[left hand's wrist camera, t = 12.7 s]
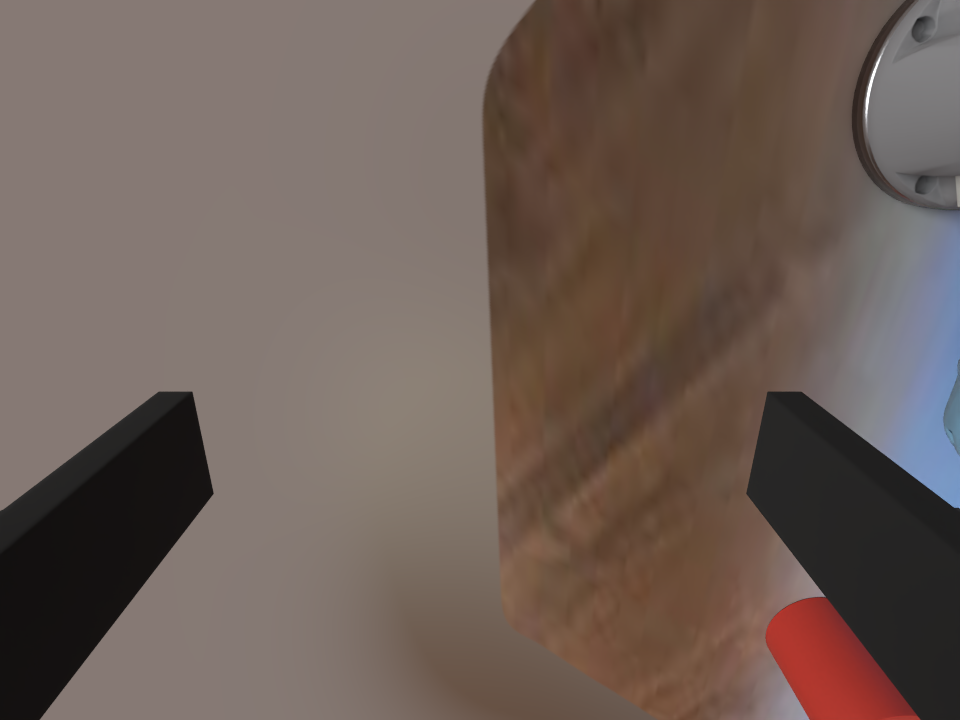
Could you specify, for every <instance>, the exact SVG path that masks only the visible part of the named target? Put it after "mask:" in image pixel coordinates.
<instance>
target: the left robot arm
mask: <svg viewBox="0 0 960 720" xmlns="http://www.w3.org/2000/svg"><path fill="white" fill-rule="evenodd" d="M852 130H853V138H854V143H855V148H856V151H857V154H858V157H859V159H860V161H861V163H862V166H863V168H864V169H865V171H866V172H867V174H868V176H869V177H870V178H871V179H872V180H873V182H874V183H875V184H876V185H877V186H878V187H879V188H880V189H881V190H883V191H884V192H886V193H887V194H888V195H890V196H892V197H893V198H895V199H897V200H899V201H902V202H904V203H907V204H911V205H914V206H920V207H926V208H934V209H941V210H960V0H906V1H905V2H904V3H903V4H902V5H901V6H900V7H899V8H898V9H897V11H896V12H895V13H894V14H893V15H892V16H891V18H890V19H889V20H888V22H887V23H886V24H885V26H884V27H883V28H882V30H881V32H880V33H879V35H878V36H877V38H876V39H875V41H874V43H873V45H872V47H871V49H870V51H869V52H868V55H867V57H866V59H865V61H864V64H863V66H862V69H861V72H860V75H859V78H858V81H857V85H856V89H855V94H854V100H853V109H852ZM943 422H944V429H945V432H946V434H947V436H948V438H949V440H950V442H951V443H952V444H953V446H954V447H955V449H956V451H957V453H958V454H959V455H960V359H959V361H958V376H957V379H956V382H955V385H954V387H953V390H952V392H951V395H950V398H949V400H948V403H947V405H946V408H945V411H944V418H943ZM746 494H747V495H748V496H749V498H750V499H751V500H752V502H753V503H754V504H755V506H756V507H757V508H758V509H759V511H760V512H761V513H762V515H763V516H764V517H765V519H766V520H767V521H768V522H769V524H770V525H771V526H772V528H773V529H774V530H775V532H776V533H777V534H778V535H779V537H780V538H781V539H782V541H783V542H784V543H785V544H786V546H787V547H788V548H789V550H790V551H791V552H792V554H793V555H794V556H795V557H796V559H797V560H798V561H799V563H800V564H801V565H802V567H803V568H804V569H805V570H806V572H807V573H808V574H809V576H810V577H811V578H812V580H813V581H814V582H815V583H816V585H817V586H818V587H819V589H820V590H821V591H822V593H823V594H824V595H825V596H826V598H827V599H828V600H829V602H830V603H831V604H832V606H833V607H834V608H835V609H836V611H837V612H838V613H839V615H840V616H841V617H842V619H843V620H844V621H845V622H846V624H847V625H848V626H849V628H850V629H851V630H852V631H853V633H854V634H855V635H856V637H857V638H858V639H859V641H860V642H861V643H862V644H863V646H864V647H865V648H866V650H867V651H868V652H869V654H870V655H871V656H872V657H873V659H874V660H875V661H876V663H877V664H878V665H879V667H880V668H881V669H882V670H883V672H884V673H885V674H886V676H887V677H888V678H889V680H890V681H891V682H892V683H893V685H894V686H895V687H896V689H897V690H898V691H899V693H900V694H901V695H902V696H903V698H904V699H905V700H906V702H907V703H908V704H909V705H910V707H911V708H912V709H913V711H914V712H915V713H916V715H917V716H918V717H919V718H920V720H960V509H959V508H954V507H952V506H951V505H950V504H948V503H947V502H946V501H945V500H943V499H942V498H941V497H939V496H938V495H937V494H935V493H934V492H933V491H931V490H930V489H929V488H927V487H926V486H925V485H923V484H922V483H921V482H919V481H918V480H917V479H916V478H914V477H913V476H912V475H910V474H909V473H908V472H906V471H905V470H904V469H902V468H901V467H900V466H898V465H897V464H896V463H894V462H893V461H892V460H891V459H889V458H888V457H887V456H885V455H884V454H883V453H881V452H880V451H879V450H877V449H876V448H875V447H873V446H872V445H871V444H869V443H868V442H867V441H865V440H864V439H863V438H862V437H860V436H859V435H858V434H856V433H855V432H854V431H852V430H851V429H850V428H848V427H847V426H846V425H844V424H843V423H842V422H840V421H839V420H838V419H836V418H835V417H834V416H833V415H831V414H830V413H829V412H827V411H826V410H825V409H823V408H822V407H821V406H819V405H818V404H817V403H815V402H814V401H813V400H811V399H810V398H809V397H808V396H806V395H805V394H804V393H802V392H767V397H766V402H765V407H764V412H763V416H762V421H761V426H760V431H759V436H758V440H757V445H756V450H755V455H754V460H753V464H752V469H751V474H750V479H749V484H748V488H747V493H746ZM212 495H213V488H212V484H211V479H210V474H209V469H208V464H207V460H206V455H205V450H204V445H203V440H202V436H201V431H200V426H199V421H198V416H197V412H196V407H195V402H194V397H193V393H192V392H158V393H157V394H155V395H154V396H152V397H151V398H150V399H149V400H147V401H146V402H145V403H143V404H142V405H141V406H139V407H138V408H137V409H135V410H134V411H133V412H131V413H130V414H129V415H127V416H126V417H125V418H123V419H122V420H121V421H120V422H118V423H117V424H116V425H114V426H113V427H112V428H110V429H109V430H108V431H106V432H105V433H104V434H102V435H101V436H100V437H99V438H97V439H96V440H95V441H93V442H92V443H91V444H89V445H88V446H87V447H85V448H84V449H83V450H81V451H80V452H79V453H77V454H76V455H75V456H73V457H72V458H71V459H69V460H68V461H67V462H66V463H64V464H63V465H62V466H60V467H59V468H58V469H56V470H55V471H54V472H52V473H51V474H50V475H49V476H47V477H46V478H44V479H43V480H42V481H41V482H39V483H38V484H37V485H35V486H34V487H33V488H31V489H30V490H29V491H27V492H26V493H25V494H23V495H22V496H21V497H19V498H18V499H17V500H16V501H14V502H13V503H12V504H10V505H9V506H8V507H6V508H5V509H4V510H1V511H0V720H40V718H41V717H42V716H43V715H44V713H45V712H46V711H47V709H48V708H49V707H50V705H51V704H52V703H53V702H54V700H55V699H56V698H57V696H58V695H59V694H60V692H61V691H62V690H63V689H64V687H65V686H66V685H67V683H68V682H69V681H70V680H71V678H72V677H73V676H74V674H75V673H76V672H77V670H78V669H79V668H80V667H81V665H82V664H83V663H84V661H85V660H86V659H87V657H88V656H89V655H90V653H91V652H92V651H93V650H94V648H95V647H96V646H97V644H98V643H99V642H100V641H101V639H102V638H103V637H104V635H105V634H106V633H107V631H108V630H109V629H110V628H111V626H112V625H113V624H114V622H115V621H116V620H117V618H118V617H119V616H120V615H121V613H122V612H123V611H124V609H125V608H126V607H127V605H128V604H129V603H130V602H131V600H132V599H133V598H134V596H135V595H136V594H137V592H138V591H139V590H140V589H141V587H142V586H143V585H144V583H145V582H146V581H147V580H148V578H149V577H150V576H151V574H152V573H153V572H154V570H155V569H156V568H157V567H158V565H159V564H160V563H161V561H162V560H163V559H164V557H165V556H166V555H167V554H168V552H169V551H170V550H171V548H172V547H173V546H174V544H175V543H176V542H177V541H178V539H179V538H180V537H181V535H182V534H183V533H184V532H185V530H186V529H187V528H188V526H189V525H190V524H191V522H192V521H193V520H194V519H195V517H196V516H197V515H198V513H199V512H200V511H201V509H202V508H203V507H204V506H205V504H206V503H207V502H208V500H209V499H210V498H211V496H212Z"/></svg>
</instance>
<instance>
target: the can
mask: <svg viewBox="0 0 960 720" xmlns="http://www.w3.org/2000/svg"><path fill="white" fill-rule="evenodd" d="M766 643H767V646H768V648H769V650H770V652H771V653H772V655H773V657H774V658H775V660H776V662H777V664H778V665H779V667H780V669H781V671H782V672H783V674H784V676H785V678H786V679H787V681H788V683H789V684H790V686H791V688H792V690H793V691H794V693H795V695H796V697H797V698H798V700H799V702H800V704H801V705H802V707H803V709H804V710H805V712H806V714H807V716H808V717H809V719H810V720H920V718H919V717H918V716H917V715H916V713H915V712H914V711H913V709H912V708H911V707H910V705H909V704H908V703H907V702H906V700H905V699H904V698H903V696H902V695H901V694H900V693H899V691H898V690H897V689H896V687H895V686H894V685H893V683H892V682H891V681H890V680H889V678H888V677H887V676H886V674H885V673H884V672H883V670H882V669H881V668H880V667H879V665H878V664H877V663H876V661H875V660H874V659H873V657H872V656H871V655H870V654H869V652H868V651H867V650H866V648H865V647H864V646H863V644H862V643H861V642H860V641H859V639H858V638H857V637H856V635H855V634H854V633H853V631H852V630H851V629H850V628H849V626H848V625H847V624H846V622H845V621H844V620H843V619H842V617H841V616H840V615H839V613H838V612H837V611H836V609H835V608H834V607H833V606H832V604H831V603H830V602H829V600H828V599H827V598H823V597H816V598H808V599H804V600H801V601H797V602H795V603H793V604H791V605H789V606H787V607H785V608H784V609H782V610H781V611H780V612H779V613H778V614H777V615H776V616H775V617H774V618H773V619H772V621H771V622H770V624H769V626H768V628H767V631H766Z"/></svg>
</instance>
